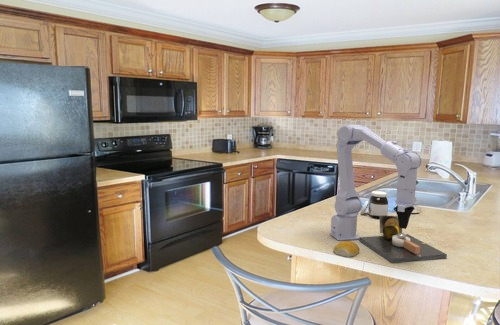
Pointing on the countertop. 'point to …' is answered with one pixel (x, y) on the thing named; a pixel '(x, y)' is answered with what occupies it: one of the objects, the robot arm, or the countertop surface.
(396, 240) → the collar
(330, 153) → the countertop surface
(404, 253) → the base
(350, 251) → the bread roll
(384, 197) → the spread jar
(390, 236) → the condiment
